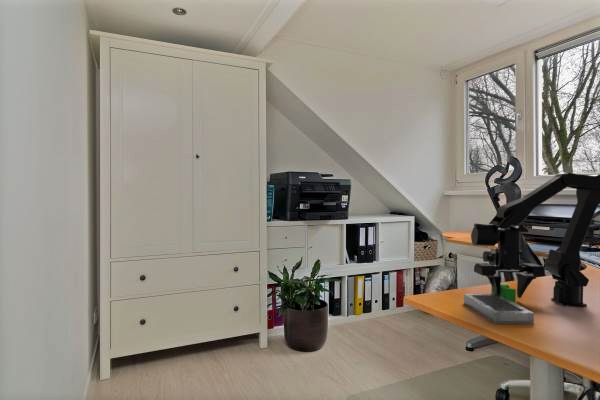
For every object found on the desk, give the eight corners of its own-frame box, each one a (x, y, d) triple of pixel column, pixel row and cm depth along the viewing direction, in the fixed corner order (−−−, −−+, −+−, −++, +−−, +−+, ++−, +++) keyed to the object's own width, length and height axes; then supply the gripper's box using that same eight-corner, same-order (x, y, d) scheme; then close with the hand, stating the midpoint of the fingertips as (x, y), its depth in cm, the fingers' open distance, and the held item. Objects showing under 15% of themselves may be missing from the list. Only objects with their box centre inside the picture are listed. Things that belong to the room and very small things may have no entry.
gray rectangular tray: (497, 303, 110) (497, 293, 109) (533, 324, 93) (534, 313, 92) (463, 303, 110) (464, 293, 109) (493, 323, 93) (494, 312, 92)
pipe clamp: (520, 307, 106) (520, 292, 106) (506, 307, 107) (507, 291, 107) (503, 296, 118) (503, 282, 117) (491, 295, 118) (491, 281, 118)
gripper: (523, 242, 120) (522, 290, 120) (466, 242, 120) (465, 290, 120) (546, 248, 109) (545, 300, 109) (483, 247, 108) (482, 300, 109)
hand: (508, 297), depth 112 cm, fingers open, 6 cm apart
